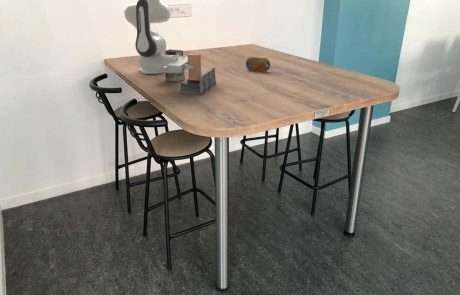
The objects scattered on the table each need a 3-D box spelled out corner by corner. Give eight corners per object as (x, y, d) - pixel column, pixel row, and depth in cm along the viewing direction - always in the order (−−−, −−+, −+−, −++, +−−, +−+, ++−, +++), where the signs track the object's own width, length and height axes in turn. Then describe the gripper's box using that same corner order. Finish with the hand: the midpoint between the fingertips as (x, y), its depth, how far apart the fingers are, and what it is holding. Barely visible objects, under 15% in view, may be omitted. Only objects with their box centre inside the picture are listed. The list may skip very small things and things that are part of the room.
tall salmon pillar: (192, 77, 188) (190, 53, 183) (201, 77, 187) (200, 53, 182) (188, 79, 184) (187, 54, 179) (198, 79, 183) (197, 55, 178)
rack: (195, 82, 203) (194, 66, 199) (216, 83, 200) (215, 67, 196) (180, 93, 185) (178, 75, 181) (203, 95, 182) (202, 76, 178)
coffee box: (185, 79, 209) (183, 50, 202) (178, 82, 204) (176, 52, 197) (172, 77, 213) (170, 48, 207) (165, 80, 208) (162, 50, 202)
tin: (245, 70, 227) (245, 56, 223) (247, 69, 229) (247, 55, 225) (268, 73, 220) (269, 58, 217) (270, 72, 223) (271, 57, 219)
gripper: (160, 62, 176) (187, 63, 172) (177, 54, 193) (202, 55, 190) (161, 75, 178) (188, 76, 175) (178, 66, 196) (203, 67, 193)
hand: (196, 65), depth 182 cm, fingers closed on tall salmon pillar, 4 cm apart
